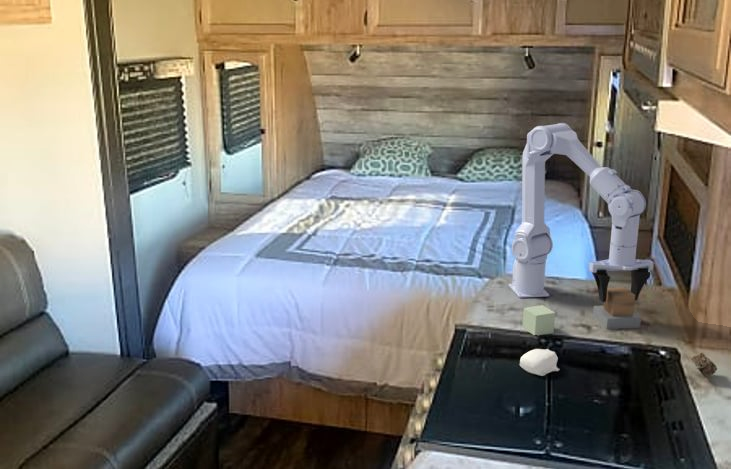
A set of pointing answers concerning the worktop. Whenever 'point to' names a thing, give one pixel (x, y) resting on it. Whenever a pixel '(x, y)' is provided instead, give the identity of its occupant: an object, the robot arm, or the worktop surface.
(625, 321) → the slate tile
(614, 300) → the walnut cube
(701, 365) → the rock
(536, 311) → the sage cube
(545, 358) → the white frog figurine
